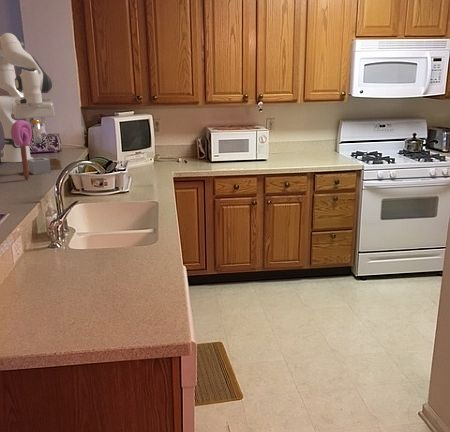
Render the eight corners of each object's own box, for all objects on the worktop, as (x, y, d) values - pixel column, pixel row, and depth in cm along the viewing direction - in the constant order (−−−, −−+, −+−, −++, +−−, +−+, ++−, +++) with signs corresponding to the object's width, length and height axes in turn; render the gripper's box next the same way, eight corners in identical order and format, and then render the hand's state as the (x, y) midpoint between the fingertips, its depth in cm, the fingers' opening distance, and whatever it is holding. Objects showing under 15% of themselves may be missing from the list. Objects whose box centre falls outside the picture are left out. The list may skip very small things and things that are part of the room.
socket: (29, 171, 269) (27, 159, 267) (46, 170, 274) (44, 157, 272) (33, 174, 262) (32, 161, 260) (51, 172, 267) (49, 159, 265)
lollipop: (25, 183, 243) (18, 121, 234) (12, 182, 244) (4, 121, 236) (40, 177, 255) (34, 118, 247) (28, 176, 257) (21, 118, 248)
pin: (33, 142, 265) (30, 120, 261) (41, 142, 267) (38, 119, 264) (35, 143, 261) (32, 120, 258) (43, 142, 264) (40, 120, 260)
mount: (45, 168, 279) (44, 159, 277) (57, 167, 283) (56, 158, 281) (48, 170, 273) (48, 161, 272) (61, 168, 277) (60, 160, 276)
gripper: (51, 98, 266) (54, 124, 270) (11, 100, 255) (14, 127, 259) (55, 99, 261) (57, 125, 265) (14, 100, 250) (18, 128, 254)
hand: (36, 126), depth 262 cm, fingers closed on pin, 4 cm apart
